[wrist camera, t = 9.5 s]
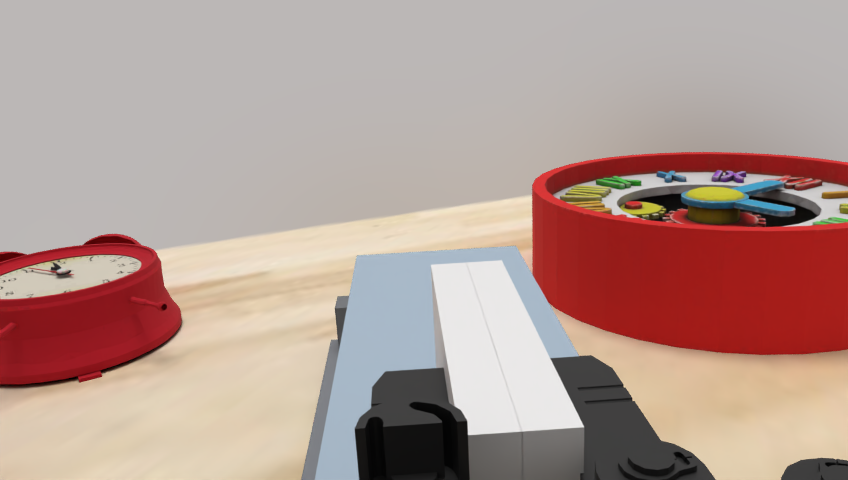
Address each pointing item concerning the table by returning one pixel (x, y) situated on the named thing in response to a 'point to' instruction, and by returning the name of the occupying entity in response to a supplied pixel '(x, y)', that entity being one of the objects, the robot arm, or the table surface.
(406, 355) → the blue-grey rectangular block
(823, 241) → the toy clock
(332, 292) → the table surface
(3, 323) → the alarm clock
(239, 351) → the table surface
